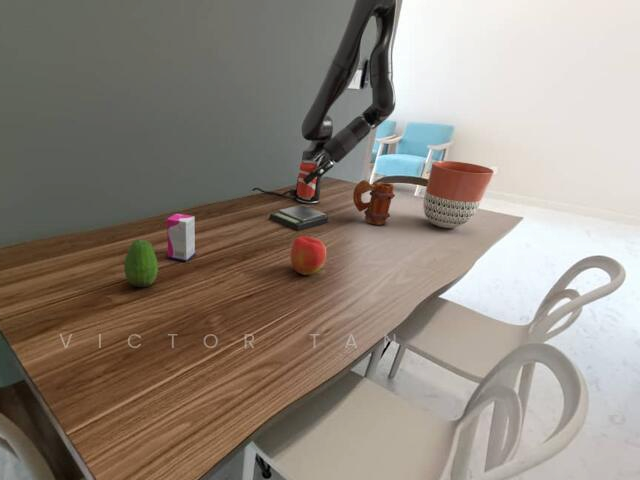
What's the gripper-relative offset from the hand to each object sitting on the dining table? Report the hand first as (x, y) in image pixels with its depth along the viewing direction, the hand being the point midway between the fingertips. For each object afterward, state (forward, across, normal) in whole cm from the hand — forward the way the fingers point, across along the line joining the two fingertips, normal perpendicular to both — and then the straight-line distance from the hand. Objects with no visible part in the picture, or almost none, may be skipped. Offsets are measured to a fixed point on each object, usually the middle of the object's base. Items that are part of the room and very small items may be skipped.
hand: (302, 179), depth 136 cm
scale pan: (+8, 0, +10) cm, 12 cm away
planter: (-28, +3, +50) cm, 57 cm away
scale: (+10, +1, +10) cm, 15 cm away
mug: (-8, +1, +30) cm, 31 cm away
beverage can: (+3, 0, +5) cm, 6 cm away
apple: (+16, +42, +5) cm, 46 cm away
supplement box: (+39, +32, -19) cm, 54 cm away
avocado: (+46, +49, -25) cm, 72 cm away
